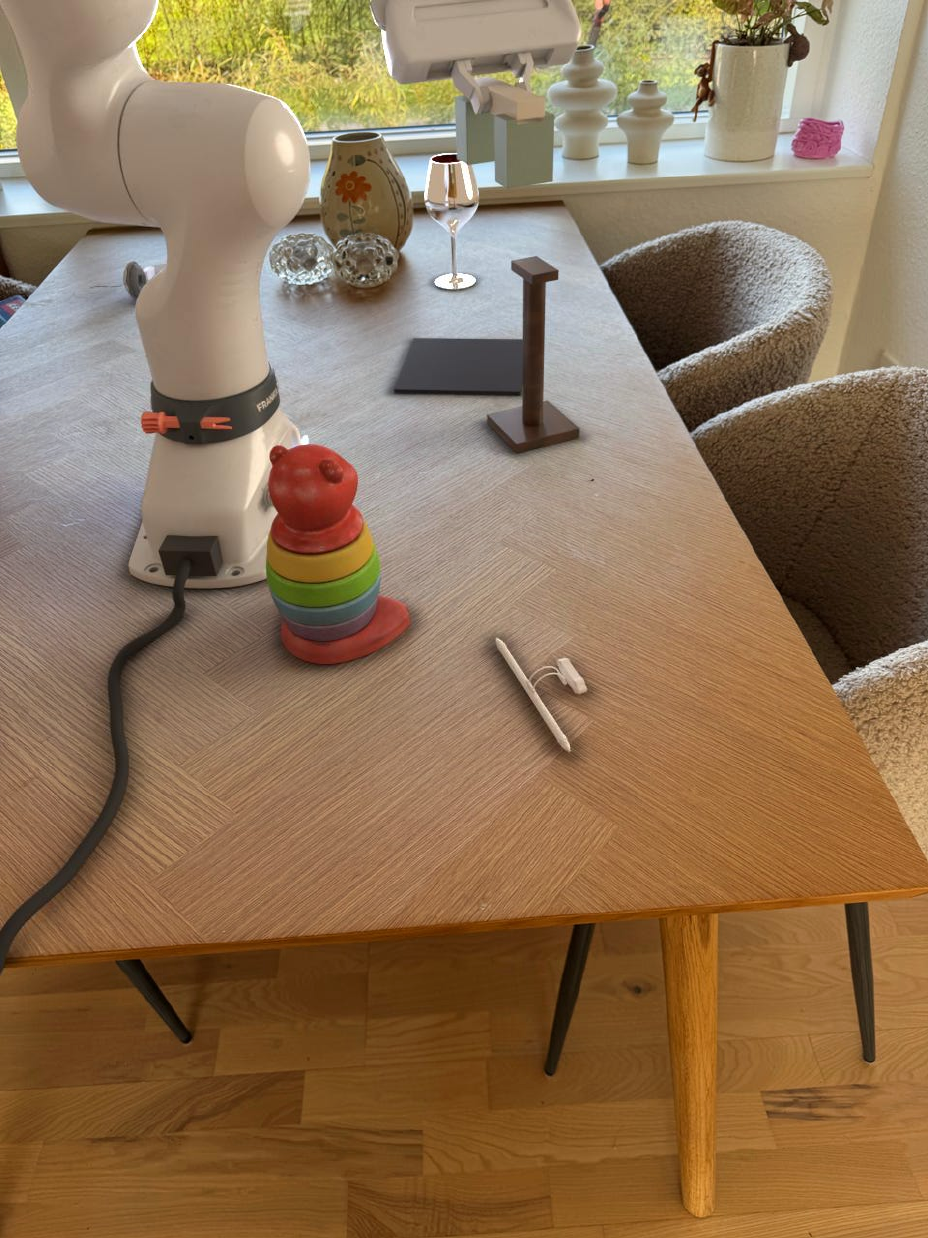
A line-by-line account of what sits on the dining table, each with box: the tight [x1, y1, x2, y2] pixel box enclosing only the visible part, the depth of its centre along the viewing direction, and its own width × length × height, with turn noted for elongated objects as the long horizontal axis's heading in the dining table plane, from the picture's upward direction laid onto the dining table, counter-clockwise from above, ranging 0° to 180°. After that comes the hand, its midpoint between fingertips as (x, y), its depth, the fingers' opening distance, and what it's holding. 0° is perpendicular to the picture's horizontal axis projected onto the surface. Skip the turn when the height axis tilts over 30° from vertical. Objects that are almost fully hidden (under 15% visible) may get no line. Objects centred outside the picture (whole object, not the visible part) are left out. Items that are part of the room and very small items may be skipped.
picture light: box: [494, 637, 588, 753], centre depth 74 cm, size 14×4×2 cm, turn 21°
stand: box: [486, 255, 581, 454], centre depth 101 cm, size 8×8×19 cm
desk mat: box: [393, 337, 523, 396], centre depth 121 cm, size 16×16×1 cm
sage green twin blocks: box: [454, 75, 555, 190], centre depth 93 cm, size 5×13×8 cm, turn 23°
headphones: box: [89, 260, 167, 301], centre depth 145 cm, size 17×6×20 cm
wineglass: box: [423, 153, 480, 291], centre depth 140 cm, size 8×8×18 cm
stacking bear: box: [266, 443, 411, 665], centre depth 75 cm, size 11×10×18 cm
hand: (505, 106), depth 92 cm, fingers closed on sage green twin blocks, 3 cm apart
